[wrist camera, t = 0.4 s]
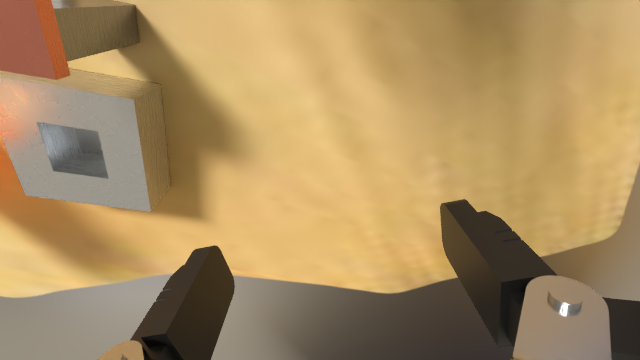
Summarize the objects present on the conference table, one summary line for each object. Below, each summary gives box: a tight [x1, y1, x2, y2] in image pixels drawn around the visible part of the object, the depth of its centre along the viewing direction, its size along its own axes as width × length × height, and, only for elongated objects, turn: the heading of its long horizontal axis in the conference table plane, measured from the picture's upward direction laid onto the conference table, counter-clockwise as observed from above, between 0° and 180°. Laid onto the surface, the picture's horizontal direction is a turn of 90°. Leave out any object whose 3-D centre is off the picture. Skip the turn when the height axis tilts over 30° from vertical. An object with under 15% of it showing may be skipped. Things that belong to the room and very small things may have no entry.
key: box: [0, 0, 140, 80], centre depth 21 cm, size 4×4×11 cm
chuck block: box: [0, 68, 171, 212], centre depth 29 cm, size 12×12×5 cm
